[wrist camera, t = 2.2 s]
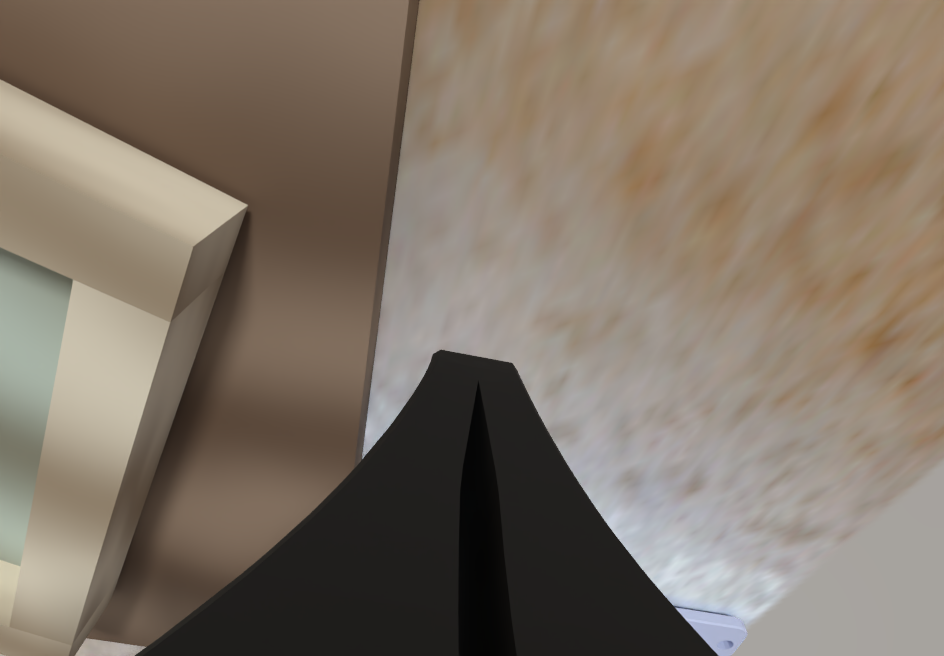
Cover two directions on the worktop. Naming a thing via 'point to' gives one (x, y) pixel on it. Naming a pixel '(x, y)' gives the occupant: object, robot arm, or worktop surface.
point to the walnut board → (245, 250)
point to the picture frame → (89, 355)
